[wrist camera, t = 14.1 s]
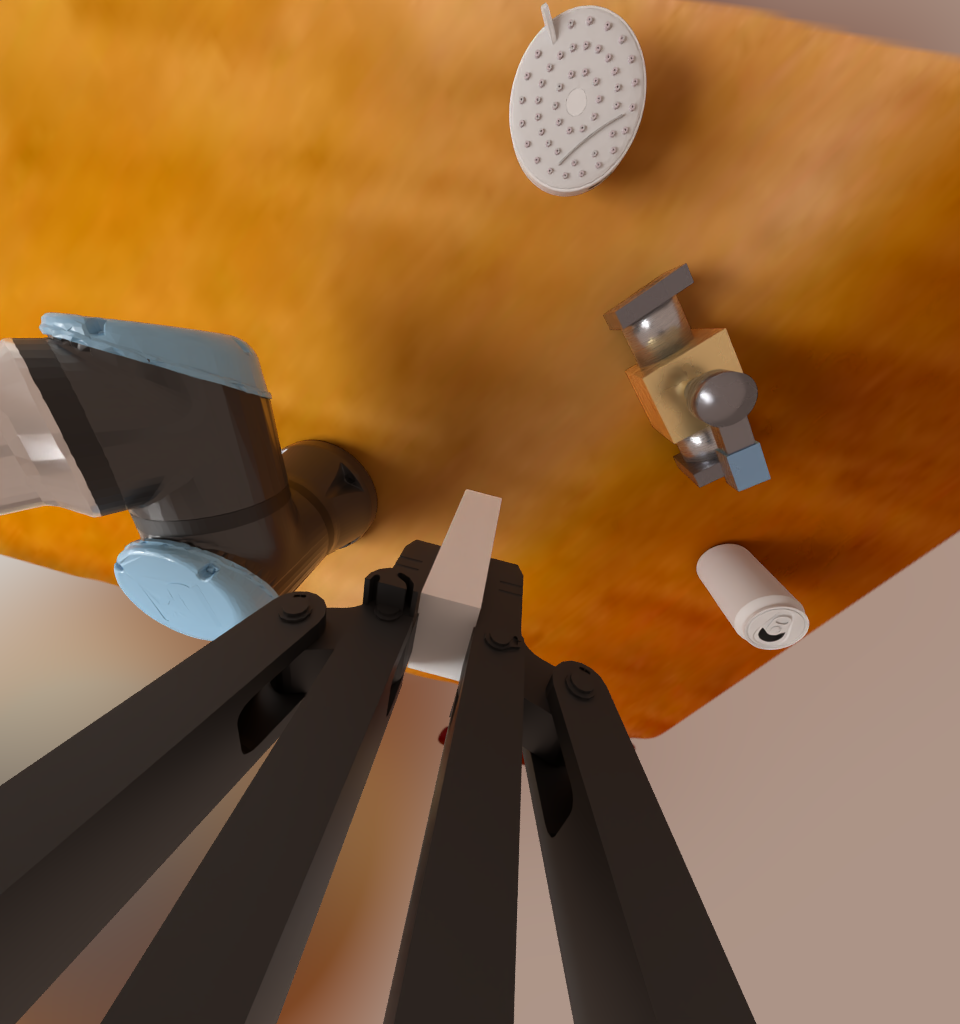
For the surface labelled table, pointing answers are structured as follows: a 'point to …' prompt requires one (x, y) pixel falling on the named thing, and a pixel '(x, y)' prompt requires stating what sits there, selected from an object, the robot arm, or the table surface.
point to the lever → (730, 424)
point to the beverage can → (752, 598)
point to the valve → (681, 381)
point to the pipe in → (654, 318)
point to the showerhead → (577, 99)
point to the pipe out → (699, 457)
